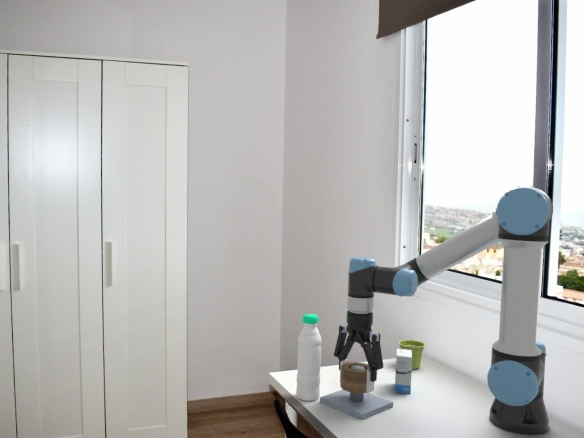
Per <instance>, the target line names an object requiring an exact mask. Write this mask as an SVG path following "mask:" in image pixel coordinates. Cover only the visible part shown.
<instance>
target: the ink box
mask: <svg viewBox="0 0 584 438" xmlns="http://www.w3.org/2000/svg"><path fill="white" fill-rule="evenodd" d="M412 370H413V369H412V350H405V349H401V348H396V359H395V374H394V375H395V380H394V382H395V383H394V390H395V391H394V392H395V393H399V394H409V395H410V394H411V392H412Z"/></svg>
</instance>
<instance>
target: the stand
mask: <svg viewBox="0 0 584 438" xmlns="http://www.w3.org/2000/svg"><path fill="white" fill-rule="evenodd" d="M351 369H352V370H358V371H361V370H365V368H364V367H363V366H359V365H354V366H351ZM319 403H320V404H323V405H326V406H328V407H331V408H334V409H335V410H339V411H341V412H343V413H345V414H348V415H351V416H353V417H356V418H357V419H361V420H365V419H368V418H370V417H372V416H374V415H377V414H380V413H382V412H385V411H386V410H389V409H391V408H394V401H392V400H389V399H387V398H383V397H380V396H378V395H375V394H373V393H371V392H370V393H352V392H348V391H345V390H343V389H340V390H338V391H334V392H331V393H328V394H325V395H323V396H319Z"/></svg>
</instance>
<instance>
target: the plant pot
mask: <svg viewBox="0 0 584 438" xmlns="http://www.w3.org/2000/svg"><path fill="white" fill-rule="evenodd" d="M398 345H399V349H405V350H412V370H418V369H420V368H421V362H422V357H423V351H424V349H425V347H426V343H424V342H423V341H419V340H413V339H404V340H403V339H402V340H399V341H398Z"/></svg>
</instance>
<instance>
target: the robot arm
mask: <svg viewBox="0 0 584 438" xmlns="http://www.w3.org/2000/svg"><path fill="white" fill-rule="evenodd" d="M553 213H554V205H553V202H552V199H551V198H550V196H549V195H548V194H547V192H545V191H544V190H542V189H540V188H538V187H537V188H536V187H534V186H529V185H520V186H514V187H512V188H510V189H508V190H507V191H506V192H505V193H504V194H503V195H502V196H501V197H500V199H499V200H498V202H497V205H496V207H495V208H494V209H493V211H492V214H491V215H489V216H487V217H485V218H483V219H481V220H480V221H478V222H476V223H474V224H472V225H471V226H469V227H468V228H466V229H464V230H462V231H460V232H458V233H457V234H455V235H453V236H452V237H449V238H448V239H446V240H445V241H443V242H441V243H439V244H438V245H435V246H434V247H432V248H430V249H429V250H427V251H426V252H423V253H422V254H420V255H418V256H417V257H415V258H413V259H411V260H409V261H407V262H405V263H404V264H401V265H398V266H394V267H387V266H379V265H377V264H376V260H375V259H374V258H373V257H369V256H364V257H363V256H355V257H352V258H350V260H349V266H348V272H347V274H348V280H347V281H348V282H347V284H348V286H347V291H348V292H347V303H346V304H347V305H346V307H347V311H346V323H347V324H341V325H339V326H338V336H337V339H336V344H335V348H334V350H333V351H334V352H333V357H335V358H337V359H338V371H339V383H341V366H342V365H343V364H345V363H348V362H349V361H350V360H349V359H348V356H349V354H350V352H351V350H352V348H353V346H354V344H355V343H357V344H359V345H360V347H361V348H362V350H363V353H364V355H365V358H366V362H367V364H368V365H369V368H370V369H368V370H367V386H366V392H367V393H370V394H371V393H372V392H375V382H376V381H377V379H378V371H379V370H382V369H384V362H383V361H384V360H383V354H382V346H381V337H382V336H381V334H380V333H375V332H373V331H372V326H373V321H374V313H373V312H372V311H373V310H374V301H375V300H374V297H375V293H377V294H378V293H379V294H385V295H392V296H398V297H409V298H410V297H413V296H414V295H415V294H416V292H417V289H418V287H419V286H421V284H423V283H425V282H427V281H429V280H431V279H433V278H434V277H436V276H438V275H440V274H442V273H444V272H446V271H448V270H450V269H451V268H454V267H455V266H457V265H459V264H461V263H463V262H464V261H467V260H469V259H470V258H473V257H475V256H476V255H477V254H480V253H482V252H483V251H485V250H487V249H489V248H490V247H493V246H495V245H497V244H498V243H501V244H502V245H503V257H502V258H503V262H502V274H501V275H502V277H501V293H500V294H501V297H500V311H499V312H500V313H499V314H500V315H499V327H498V328H499V330H498V339H497V340H496V341H495V342H493V343H492V345H491V358H490V359H491V360H490V368H489V369H488V373H487V376H486V378H487V386H488V389H489V391H490V393H491V394H492V395H493V396H494V399H493V402H492V404H491V406H490V409H489V420H490V421H491V422H492V424H494V426H495V425H496V426H497V427H499V428H502V429H504V430H506V431H510V432H514V433H520V434H526V435H539V434H543V433H546V432H547V431H548V430H549V429H550V427H549V426H550V419H549V416H548V415H549V414H548V411H547V408H546V404H545V401H544V388H545V372H546V369H545V368H546V357H547V352H546V351H547V350H546V345H545V344H544V343H542V342H539V341H537V325H538V324H537V323H538V308H539V291H540V273H541V258H542V257H541V256H542V249H543V247H545V246H546V245H547V244H549V238H550V221H551V220H552V219H551V218H552V217H553ZM347 335H348V336H347Z"/></svg>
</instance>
